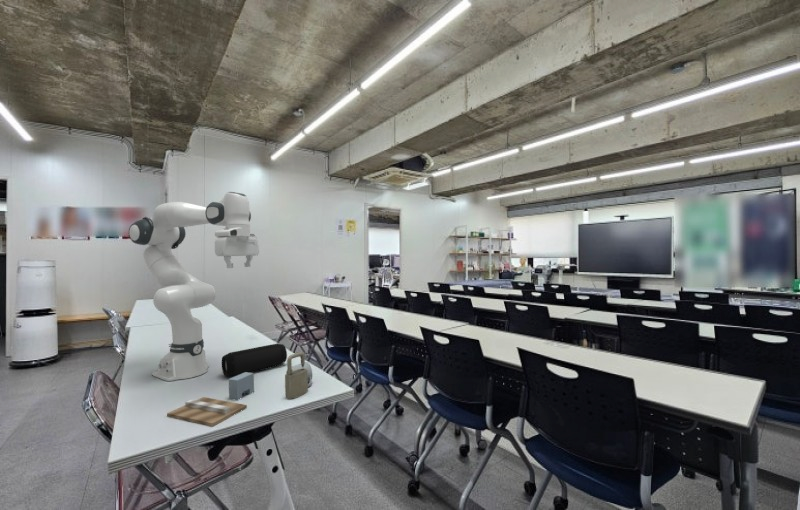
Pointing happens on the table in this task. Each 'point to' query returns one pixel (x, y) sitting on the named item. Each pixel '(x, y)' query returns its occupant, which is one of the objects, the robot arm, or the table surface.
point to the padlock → (296, 378)
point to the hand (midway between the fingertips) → (239, 267)
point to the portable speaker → (253, 359)
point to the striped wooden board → (206, 411)
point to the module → (241, 385)
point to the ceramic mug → (306, 366)
